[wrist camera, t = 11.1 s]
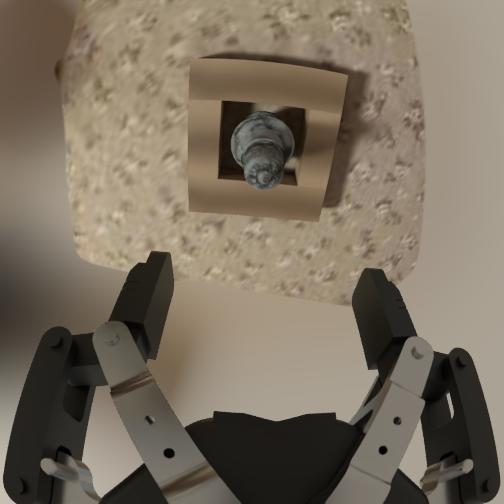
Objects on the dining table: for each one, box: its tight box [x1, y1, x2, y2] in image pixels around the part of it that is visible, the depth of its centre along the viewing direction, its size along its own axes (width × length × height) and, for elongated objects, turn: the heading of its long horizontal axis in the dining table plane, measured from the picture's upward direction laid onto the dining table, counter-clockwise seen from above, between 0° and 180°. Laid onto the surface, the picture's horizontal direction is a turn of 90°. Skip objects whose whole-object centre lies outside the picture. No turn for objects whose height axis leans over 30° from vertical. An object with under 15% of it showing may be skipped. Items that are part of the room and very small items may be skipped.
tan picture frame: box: [188, 59, 348, 222], centre depth 27 cm, size 16×14×3 cm
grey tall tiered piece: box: [231, 112, 294, 190], centre depth 23 cm, size 6×6×12 cm
